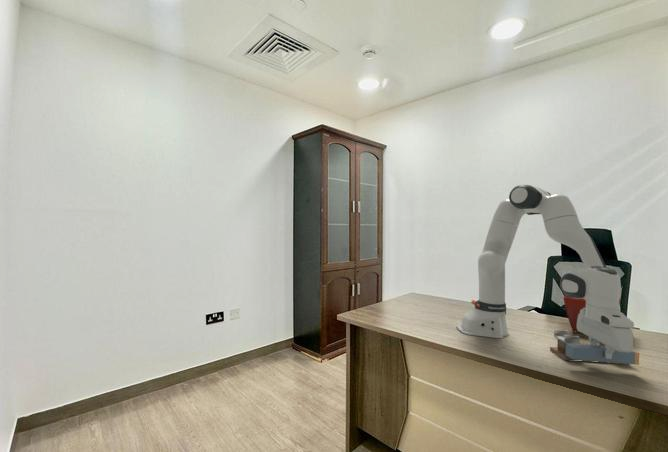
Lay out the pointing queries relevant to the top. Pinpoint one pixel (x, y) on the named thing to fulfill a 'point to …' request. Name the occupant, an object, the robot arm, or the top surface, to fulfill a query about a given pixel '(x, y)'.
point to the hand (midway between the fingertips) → (601, 354)
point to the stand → (562, 340)
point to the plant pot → (574, 310)
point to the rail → (600, 354)
